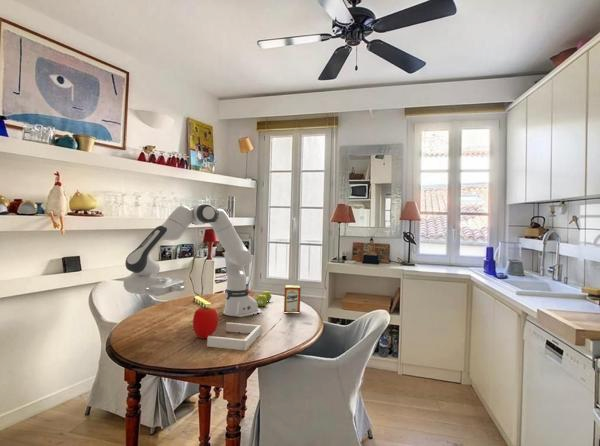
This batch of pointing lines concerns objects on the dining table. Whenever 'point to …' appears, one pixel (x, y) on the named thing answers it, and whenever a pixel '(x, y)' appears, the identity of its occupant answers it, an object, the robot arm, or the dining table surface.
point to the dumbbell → (263, 298)
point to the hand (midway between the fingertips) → (183, 288)
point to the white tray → (236, 343)
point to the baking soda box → (292, 298)
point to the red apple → (205, 322)
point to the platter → (202, 302)
